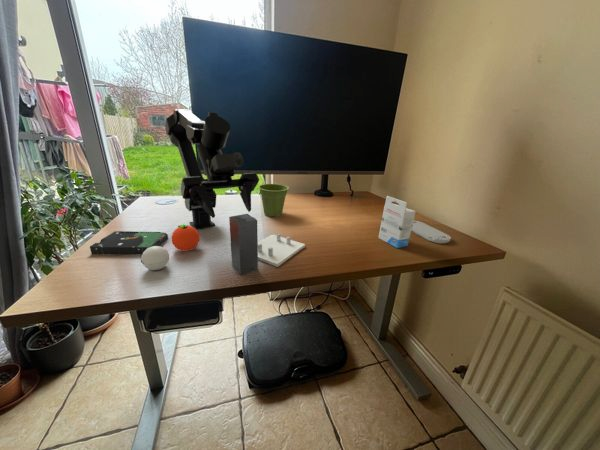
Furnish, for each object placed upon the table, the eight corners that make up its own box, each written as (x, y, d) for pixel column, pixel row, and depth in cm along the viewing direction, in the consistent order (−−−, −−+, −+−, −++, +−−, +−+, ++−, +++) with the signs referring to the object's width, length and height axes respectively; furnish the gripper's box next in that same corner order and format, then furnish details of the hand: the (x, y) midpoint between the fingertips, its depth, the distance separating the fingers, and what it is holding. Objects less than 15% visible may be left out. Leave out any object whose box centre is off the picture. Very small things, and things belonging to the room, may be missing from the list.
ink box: (408, 246, 76) (419, 201, 70) (397, 248, 74) (407, 202, 68) (388, 235, 83) (397, 194, 77) (377, 237, 81) (385, 195, 75)
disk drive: (91, 256, 61) (152, 256, 63) (88, 247, 60) (150, 246, 61) (116, 239, 71) (169, 239, 72) (114, 230, 70) (167, 230, 71)
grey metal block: (232, 266, 60) (229, 216, 55) (248, 261, 62) (247, 213, 57) (240, 275, 56) (238, 223, 51) (257, 269, 59) (257, 220, 54)
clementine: (167, 247, 66) (163, 224, 64) (192, 240, 71) (189, 218, 69) (180, 258, 62) (176, 233, 59) (205, 250, 66) (203, 226, 64)
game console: (456, 237, 79) (436, 239, 77) (454, 243, 80) (434, 246, 78) (417, 218, 95) (399, 219, 93) (415, 224, 96) (398, 225, 94)
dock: (241, 253, 66) (241, 244, 65) (272, 236, 77) (272, 228, 76) (277, 266, 60) (277, 257, 59) (304, 246, 72) (305, 238, 70)
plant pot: (253, 217, 93) (253, 188, 89) (264, 208, 104) (264, 182, 99) (283, 221, 91) (284, 191, 86) (291, 211, 101) (292, 185, 97)
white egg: (148, 263, 59) (143, 242, 57) (173, 261, 60) (170, 241, 58) (135, 281, 52) (130, 258, 50) (164, 279, 53) (160, 256, 51)
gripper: (176, 139, 51) (197, 202, 47) (255, 141, 62) (278, 192, 58) (173, 171, 60) (191, 226, 56) (243, 167, 71) (262, 213, 67)
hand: (232, 213), depth 59 cm, fingers open, 9 cm apart
